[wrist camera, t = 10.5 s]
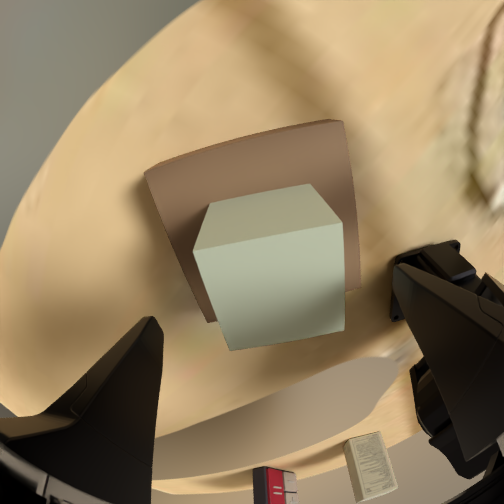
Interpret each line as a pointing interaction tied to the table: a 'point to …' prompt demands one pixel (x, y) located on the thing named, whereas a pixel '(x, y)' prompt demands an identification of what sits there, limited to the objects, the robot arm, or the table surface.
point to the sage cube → (273, 266)
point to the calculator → (274, 486)
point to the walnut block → (255, 187)
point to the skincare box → (369, 467)
